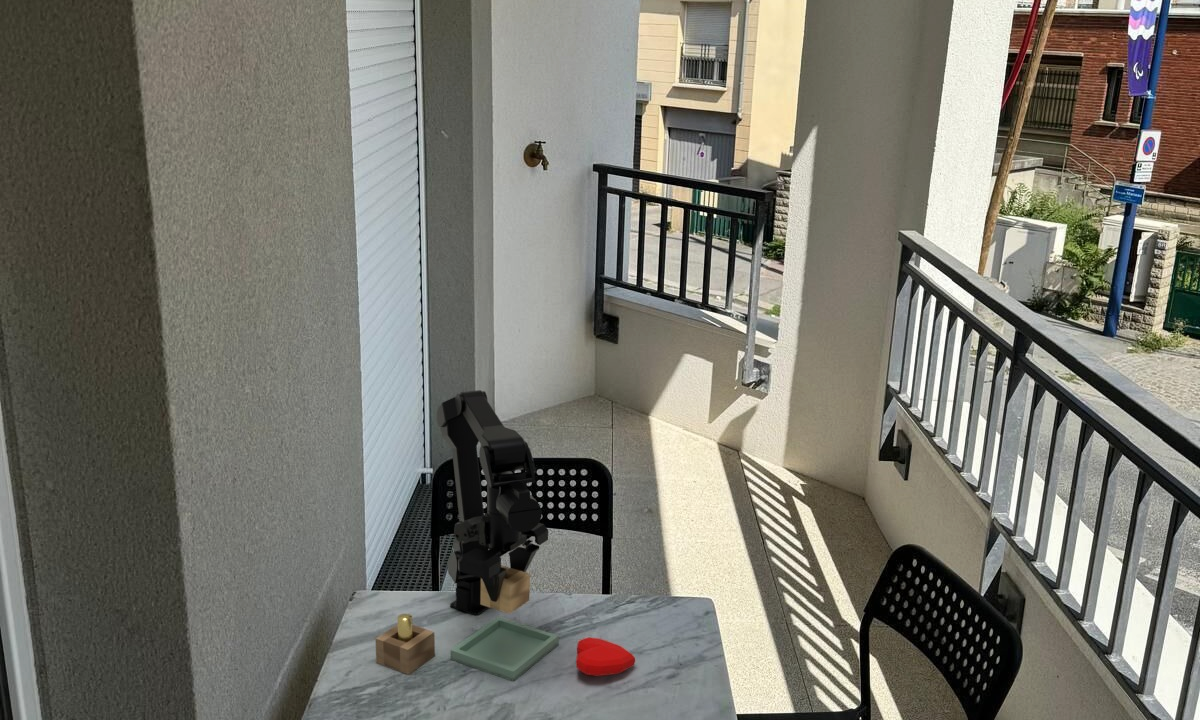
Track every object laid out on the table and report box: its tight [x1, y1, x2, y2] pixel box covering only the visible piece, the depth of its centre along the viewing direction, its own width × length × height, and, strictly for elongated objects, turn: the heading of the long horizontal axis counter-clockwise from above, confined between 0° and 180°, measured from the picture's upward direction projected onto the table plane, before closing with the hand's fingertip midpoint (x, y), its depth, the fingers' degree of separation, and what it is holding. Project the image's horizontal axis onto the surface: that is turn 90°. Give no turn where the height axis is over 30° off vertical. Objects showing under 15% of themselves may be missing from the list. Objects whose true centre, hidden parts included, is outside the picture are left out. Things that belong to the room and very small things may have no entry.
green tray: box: [450, 616, 560, 682], centre depth 190 cm, size 14×13×2 cm
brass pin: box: [397, 613, 413, 643], centre depth 186 cm, size 2×2×8 cm
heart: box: [575, 637, 636, 677], centre depth 185 cm, size 12×4×10 cm
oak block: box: [480, 564, 531, 614], centre depth 187 cm, size 6×6×5 cm
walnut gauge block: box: [375, 624, 436, 675], centre depth 186 cm, size 7×7×5 cm
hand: (504, 593), depth 187 cm, fingers closed on oak block, 6 cm apart
